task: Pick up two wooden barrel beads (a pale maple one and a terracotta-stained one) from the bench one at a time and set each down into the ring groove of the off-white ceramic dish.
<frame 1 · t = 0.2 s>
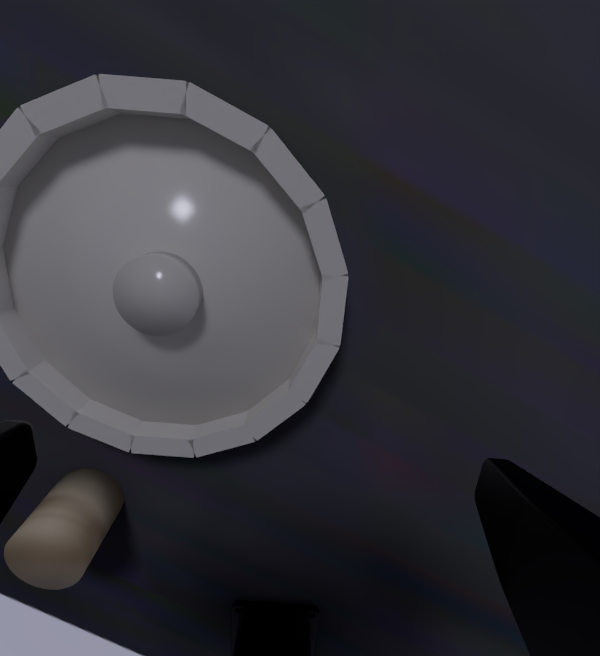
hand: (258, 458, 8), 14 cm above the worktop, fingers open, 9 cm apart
bead maple: (91, 494, 27), on the worktop
tray: (171, 284, 21), on the worktop
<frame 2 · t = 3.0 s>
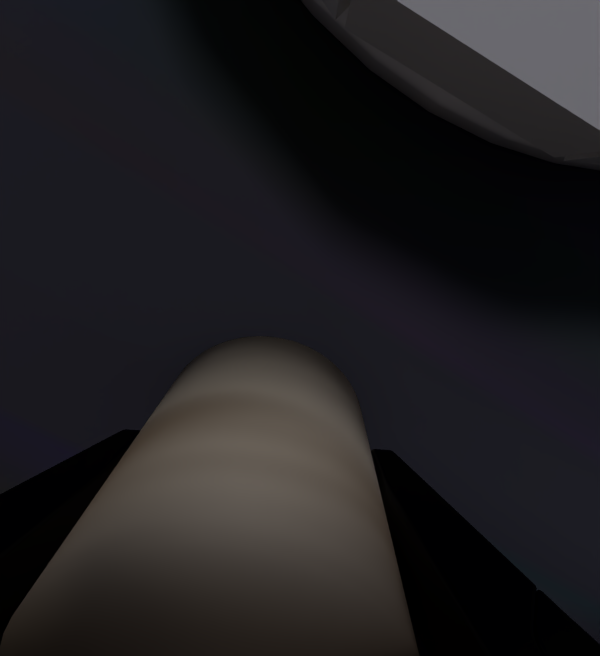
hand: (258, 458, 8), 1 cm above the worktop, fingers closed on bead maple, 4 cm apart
bead maple: (263, 428, 9), on the worktop, touching gripper
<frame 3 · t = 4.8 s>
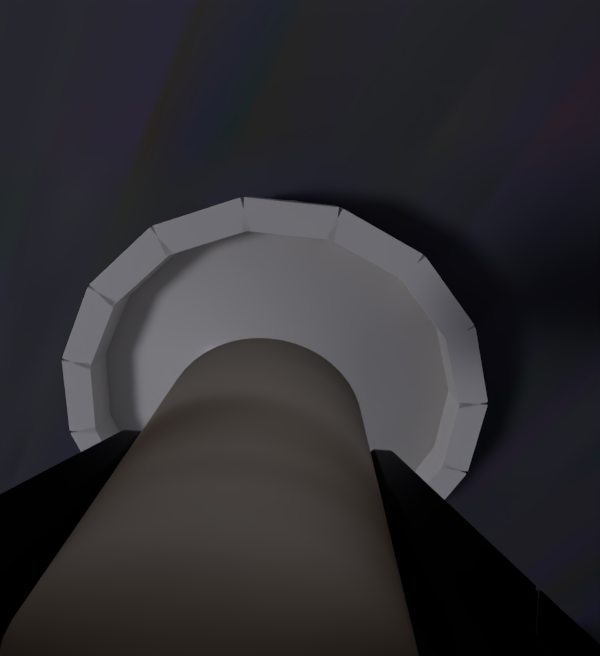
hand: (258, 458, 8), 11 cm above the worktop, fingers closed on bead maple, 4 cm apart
bead maple: (263, 429, 9), point 10 cm above the worktop, touching gripper
tray: (277, 390, 20), on the worktop
when the fingers open (3 cm above the worktop, at t = 6.6 s): bead maple drops 1 cm, resting on tray.
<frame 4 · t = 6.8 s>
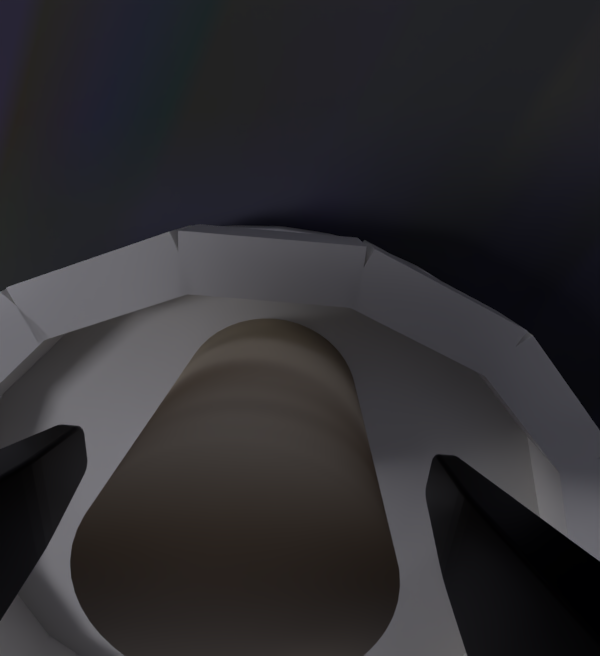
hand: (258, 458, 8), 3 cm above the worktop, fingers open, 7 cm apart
bead maple: (269, 400, 10), point 1 cm above the worktop, touching tray
tray: (262, 516, 13), on the worktop
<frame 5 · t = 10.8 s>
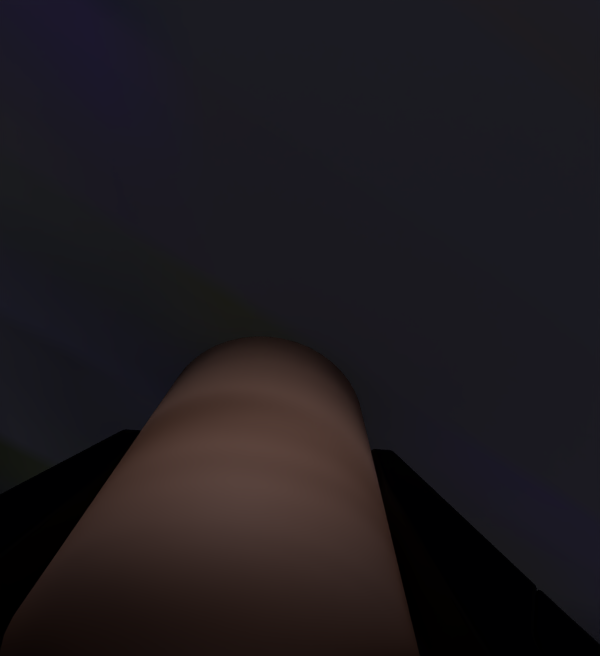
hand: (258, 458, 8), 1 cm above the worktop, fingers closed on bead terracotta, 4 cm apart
bead terracotta: (264, 428, 9), on the worktop, touching gripper
when the fingers open (3 cm above the worktop, at t = 14.5 s): bead terracotta drops 1 cm, resting on tray.
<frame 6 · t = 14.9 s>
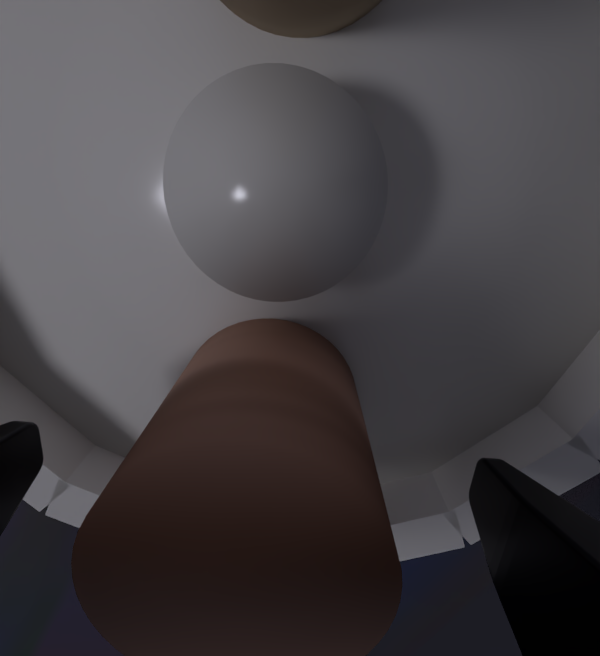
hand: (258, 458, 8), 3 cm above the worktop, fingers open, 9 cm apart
bead terracotta: (269, 400, 10), point 1 cm above the worktop, touching tray
tray: (283, 192, 9), on the worktop
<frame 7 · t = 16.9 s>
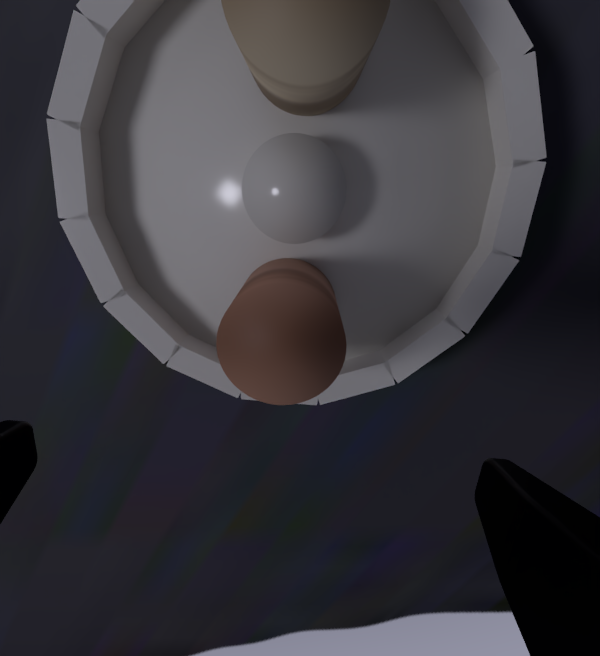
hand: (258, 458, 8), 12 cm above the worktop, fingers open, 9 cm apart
bead terracotta: (287, 306, 18), point 1 cm above the worktop, touching tray
bead maple: (306, 49, 15), point 1 cm above the worktop, touching tray
tray: (296, 190, 17), on the worktop
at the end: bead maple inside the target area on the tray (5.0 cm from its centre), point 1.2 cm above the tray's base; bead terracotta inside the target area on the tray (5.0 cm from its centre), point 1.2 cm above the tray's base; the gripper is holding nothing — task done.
